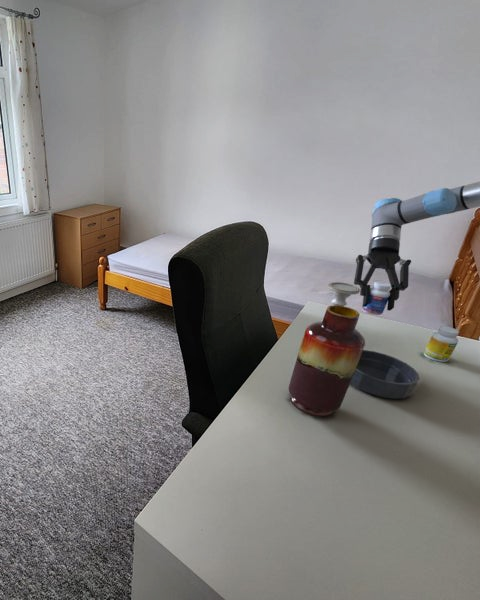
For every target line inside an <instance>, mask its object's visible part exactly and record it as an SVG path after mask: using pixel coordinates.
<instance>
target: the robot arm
mask: <svg viewBox="0 0 480 600" xmlns="http://www.w3.org/2000/svg"><path fill="white" fill-rule="evenodd" d="M475 208H480V181H477V182H472V183H468V184H466V185H460V186H456V187H453V188H447V187H443V188H439V189H435V190H431V191H429V192H426V193H423V194H420V195H417V196H414V197H411V198H408V199H405V200H402V199H401V198H397V197H390V198H383V199H381V200H379V201H377V202H376V203H375V204H374V206H373V211H372V214H371V228H370V235H369V244H368V251H367V252H368V253H367V254H366V255H362V254H358V255H357V256H356V258H355V263H356V267H355V268H356V269H355V275H354V280H353V285H354V286H359V289H360V292H359V296H361V297H363V299H362V306H363V307H366V306H367V305H368V304H369V295H370V288H371V284H369V282H370V280H371V278H372V276H373V274H374V273H375V271H376V269H378V270H379V269H381V270H384V271H385V273H386V275H387V278H388V281H389V284H390V285H391V287H390V289H389V290H388V291H389V292H390V297H389V299H388V302H387V305H386V306H387V307H386V311H388V312H389V311H390V312H391V311H392V310H393V309H394V308H395V301H396V302H397V300H399V298H400V292H401V291H403V292H404V291H406V289H408V287H409V275H410V273H409V272H410V271H409V269H410V265H411V263H412V260H411V259H403V258H401V256H400V247H401V243H400V242H401V236H402V235H401V233H402V226H403V225H408V224H411V223H414V222H415V223H416V222H419V221H422V220H427V219H430V218H435V217H440V216H444V215H449V214H454V213H458V212H462V211H466V210H470V209H475ZM366 261H367V262H368V263H369V264H370V267H369V268H368V271H367V272H366V274H365V276H364V278H363V279H362V277H363V272H364V271H363V270H364V265H365V263H366ZM396 264H399V267H400V270H399V277H398V274H397V271H396Z"/></svg>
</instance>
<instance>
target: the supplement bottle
mask: <svg viewBox="0 0 480 600" xmlns="http://www.w3.org/2000/svg"><path fill="white" fill-rule="evenodd" d="M459 334H460V331H459V330H458V329H456V328H453V327H451V326H447V325H446V326H445V325H444V326H443V325H442V326H439V327H438V329H437V331H436V332H434V333H432V335H431V336H430V339H429V341H428V343H427V345H426V347H425V349H424V351H423V355H424V356H425V357H426V358H428V359H429V360H432V361H434V362H440V363H447V362H448V361H449V360H450V359H451V357H452V354H453V352H454V351H455V348H456V347H457V345H458V343H459V338H457V337H458V336H459Z"/></svg>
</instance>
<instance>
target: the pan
mask: <svg viewBox="0 0 480 600" xmlns="http://www.w3.org/2000/svg"><path fill="white" fill-rule="evenodd" d="M420 378H421V377H420V373H418V372H417V370H415V368H414V367H413V366H411V365H409V364H408V363H407V362H405V361H403V360H401V359H399V358H397V357H395V356H391V355H389V354H386V353H382V352H378V351H374V350H366V349H363V352H362V354H361V357H360V359H359V362H358V365H357V367H356V370H355V372H354V375H353V377H352V380H351V382H350V385H352V386H354V387H355V388H357V389H359V390H360V391H362V392H365V393H367V394H369V395H373V396H376V397H379V398H385V399H392V400H393V399H395V400H396V399H397V400H398V399H406V398H410V397H411V396H412V395H413V393H414V391H415V389H416V387H417V385H418V383H419V381H420Z"/></svg>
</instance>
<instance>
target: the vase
mask: <svg viewBox="0 0 480 600" xmlns="http://www.w3.org/2000/svg"><path fill="white" fill-rule="evenodd" d="M323 315H324V316H323V317H322V319H323V321H322V320H319V321H314V322H312V323H310V324H309V325H307V327H306V328H305V331H304V334H303V337H302V339H301V343H300V347H299V349H298V350H299V351H298V353H297V357H296V360H295V363H294V367H293V370H292V374H291V376H290V380H289V385H288V392H289V395H290V396H289V398H290V399H289V400H290V403H292V405H293V407H295V408H296V409H298V411H300V412H301V413H304V414H307V415H309V416H312V417H317V418H328V417H330V416H331V415H332V414H333V412H334V411H337V410H338V409H340V408H341V406H342V404H343V402H344V399H345V397H346V394H347V392H348V390H349V387H350V385H351V383H350V382H351V380H352V377H353V375H354V372H355V370H356V367H357V365H358V362H359V359H360V357H361V354H362V352H363V350H365V349H364V348H365V346H366V340H365V338H364V336H363V335H362V334H361V333H360V331H358V330H357V329H356V328H357V324H358V321H359V319H360V315H361V314H360V312H359V311H358V310H355V308H351V307H348V306H346V305H344V306H339V305H332V304H331V305H328V306H327V307H326V309H325V312H324V314H323Z"/></svg>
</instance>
